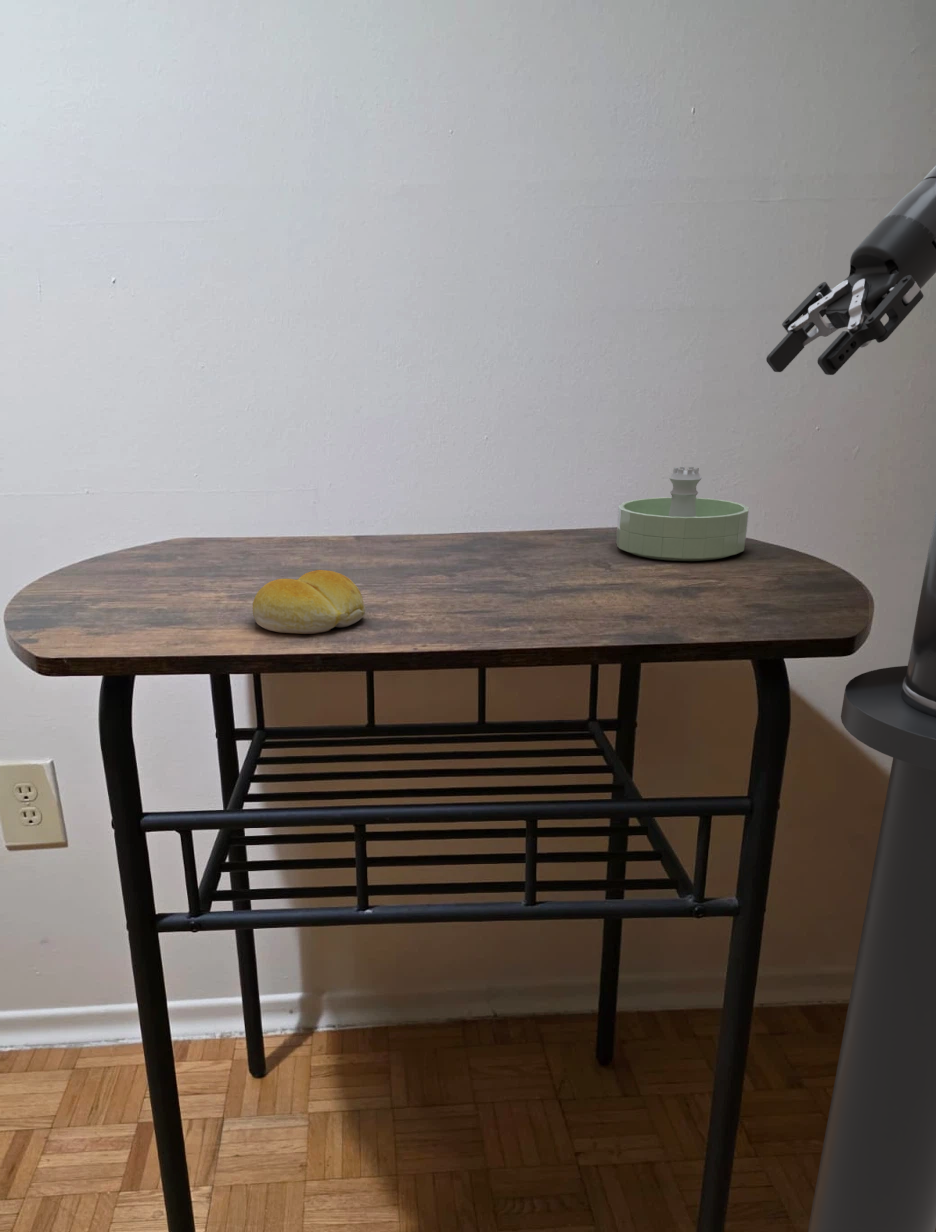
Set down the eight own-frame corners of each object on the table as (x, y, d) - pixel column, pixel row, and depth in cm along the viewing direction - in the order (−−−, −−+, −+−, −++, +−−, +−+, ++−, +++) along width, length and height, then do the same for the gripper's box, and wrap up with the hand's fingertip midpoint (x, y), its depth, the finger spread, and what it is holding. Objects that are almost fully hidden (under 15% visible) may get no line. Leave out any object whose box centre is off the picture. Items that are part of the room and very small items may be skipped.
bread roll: (237, 621, 80) (233, 573, 79) (331, 603, 85) (328, 558, 84) (284, 643, 74) (280, 592, 73) (382, 623, 79) (380, 575, 77)
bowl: (769, 557, 98) (775, 512, 96) (653, 567, 95) (656, 521, 94) (702, 534, 110) (705, 494, 108) (596, 542, 107) (598, 501, 105)
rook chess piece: (660, 549, 101) (666, 471, 98) (655, 541, 105) (661, 465, 102) (704, 550, 100) (712, 471, 97) (698, 541, 104) (705, 465, 101)
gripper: (846, 220, 102) (737, 340, 103) (949, 203, 89) (822, 340, 91) (881, 275, 105) (775, 391, 107) (985, 266, 92) (862, 398, 94)
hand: (797, 367), depth 99 cm, fingers open, 8 cm apart
